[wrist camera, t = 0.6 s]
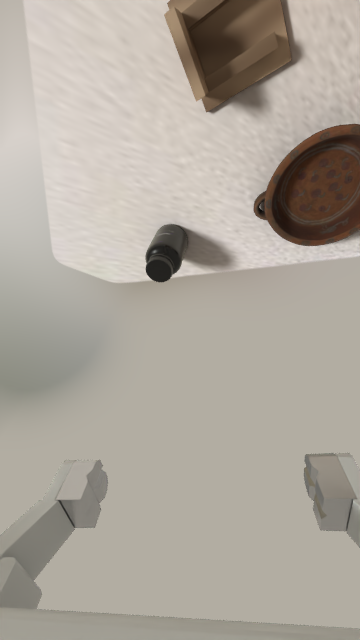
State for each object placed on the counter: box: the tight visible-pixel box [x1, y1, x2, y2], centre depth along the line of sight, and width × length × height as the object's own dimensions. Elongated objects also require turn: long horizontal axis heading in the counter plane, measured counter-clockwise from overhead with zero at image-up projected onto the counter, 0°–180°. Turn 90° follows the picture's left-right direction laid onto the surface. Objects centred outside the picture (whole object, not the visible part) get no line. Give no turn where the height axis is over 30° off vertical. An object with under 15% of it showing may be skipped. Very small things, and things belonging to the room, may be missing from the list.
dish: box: [254, 124, 360, 246], centre depth 43 cm, size 17×22×5 cm
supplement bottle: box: [146, 224, 188, 282], centre depth 52 cm, size 7×7×12 cm
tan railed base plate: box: [164, 0, 292, 112], centre depth 32 cm, size 12×12×9 cm
